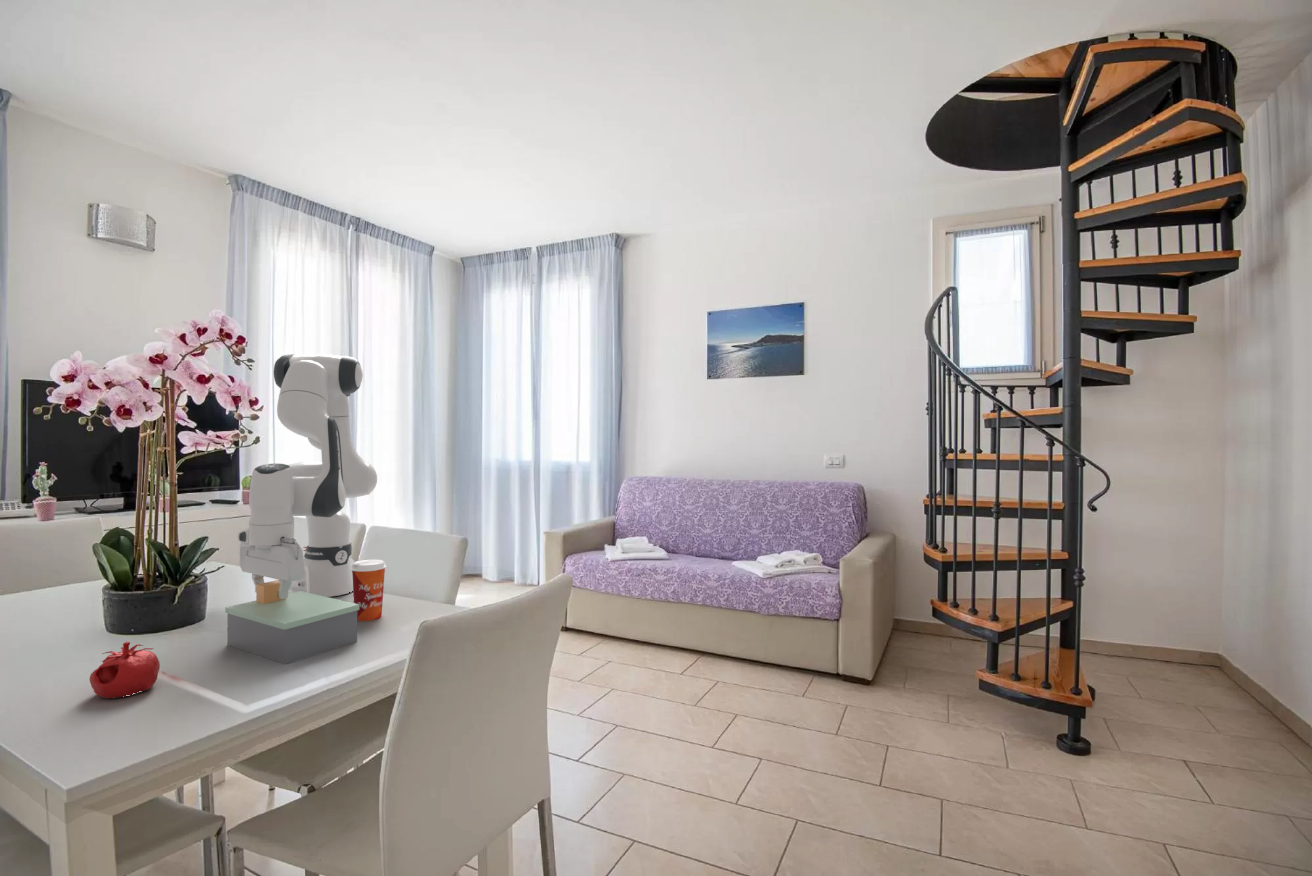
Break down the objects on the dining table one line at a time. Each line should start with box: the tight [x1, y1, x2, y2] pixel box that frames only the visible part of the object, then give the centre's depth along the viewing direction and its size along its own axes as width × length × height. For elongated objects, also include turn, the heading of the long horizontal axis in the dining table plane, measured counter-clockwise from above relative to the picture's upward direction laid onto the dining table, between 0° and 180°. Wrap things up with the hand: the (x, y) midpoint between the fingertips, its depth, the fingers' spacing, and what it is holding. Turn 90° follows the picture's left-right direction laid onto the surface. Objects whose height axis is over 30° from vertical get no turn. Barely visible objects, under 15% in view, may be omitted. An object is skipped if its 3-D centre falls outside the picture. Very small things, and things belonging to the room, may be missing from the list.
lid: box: [224, 579, 359, 630], centre depth 138 cm, size 23×17×5 cm
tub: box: [226, 611, 358, 665], centre depth 138 cm, size 22×16×8 cm
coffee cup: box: [351, 559, 387, 622], centre depth 158 cm, size 8×8×15 cm
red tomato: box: [89, 641, 161, 699], centre depth 115 cm, size 10×10×9 cm
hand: (271, 595), depth 143 cm, fingers open, 7 cm apart
